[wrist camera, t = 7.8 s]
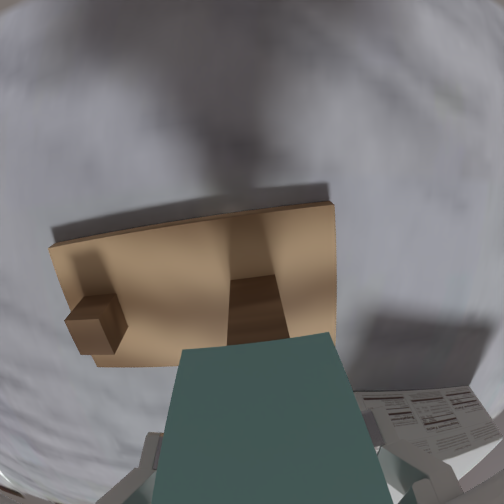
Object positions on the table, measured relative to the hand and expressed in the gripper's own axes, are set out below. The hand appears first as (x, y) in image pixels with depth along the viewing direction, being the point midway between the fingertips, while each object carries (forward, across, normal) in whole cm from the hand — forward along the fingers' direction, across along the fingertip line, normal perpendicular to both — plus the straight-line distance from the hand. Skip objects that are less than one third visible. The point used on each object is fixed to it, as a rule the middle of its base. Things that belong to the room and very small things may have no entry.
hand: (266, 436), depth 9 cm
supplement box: (+11, -13, +20) cm, 27 cm away
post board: (+11, +4, 0) cm, 11 cm away
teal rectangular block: (+2, 0, 0) cm, 2 cm away
